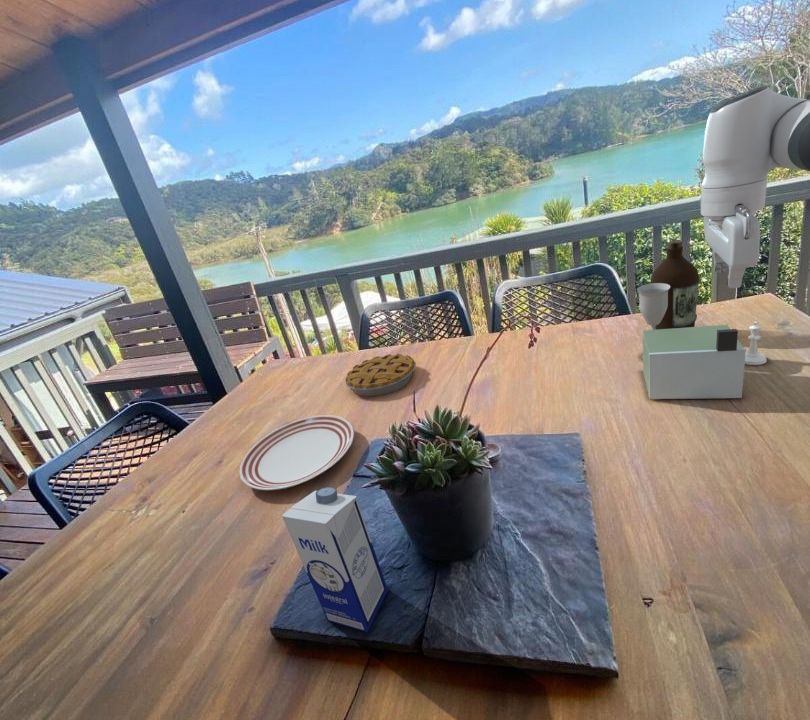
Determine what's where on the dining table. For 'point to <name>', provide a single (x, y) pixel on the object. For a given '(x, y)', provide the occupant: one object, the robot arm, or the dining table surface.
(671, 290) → the dark brown necked cylinder
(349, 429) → the dinner plate
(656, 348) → the cabinet
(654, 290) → the chalice
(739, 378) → the sliding door
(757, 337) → the chess piece
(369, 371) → the pie
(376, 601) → the milk carton
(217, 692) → the dining table surface
